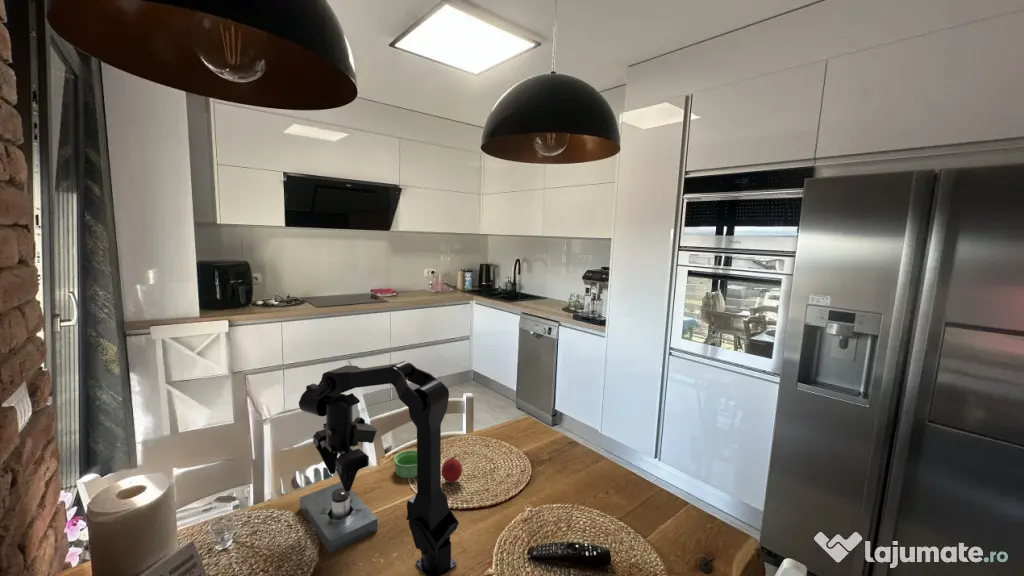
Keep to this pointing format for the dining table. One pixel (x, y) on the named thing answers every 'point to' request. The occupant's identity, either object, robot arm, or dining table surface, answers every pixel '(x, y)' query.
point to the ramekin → (406, 464)
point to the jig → (337, 531)
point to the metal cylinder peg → (340, 504)
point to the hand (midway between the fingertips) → (340, 482)
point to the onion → (451, 470)
